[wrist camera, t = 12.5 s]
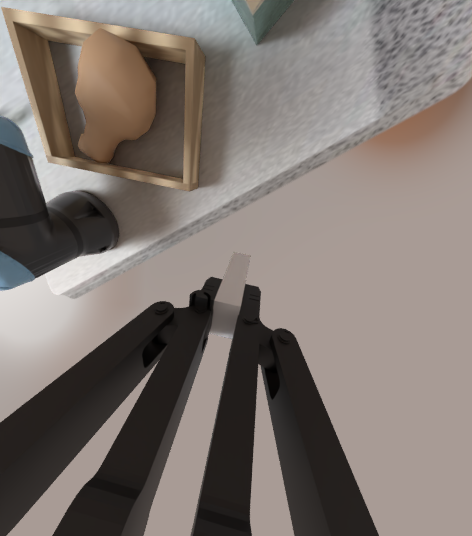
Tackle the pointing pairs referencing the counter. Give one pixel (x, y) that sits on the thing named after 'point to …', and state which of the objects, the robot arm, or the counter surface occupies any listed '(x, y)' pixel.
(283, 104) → the counter surface
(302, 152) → the counter surface
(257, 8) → the green tea tin
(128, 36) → the pine crate
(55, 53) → the counter surface
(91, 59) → the squash
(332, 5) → the counter surface
